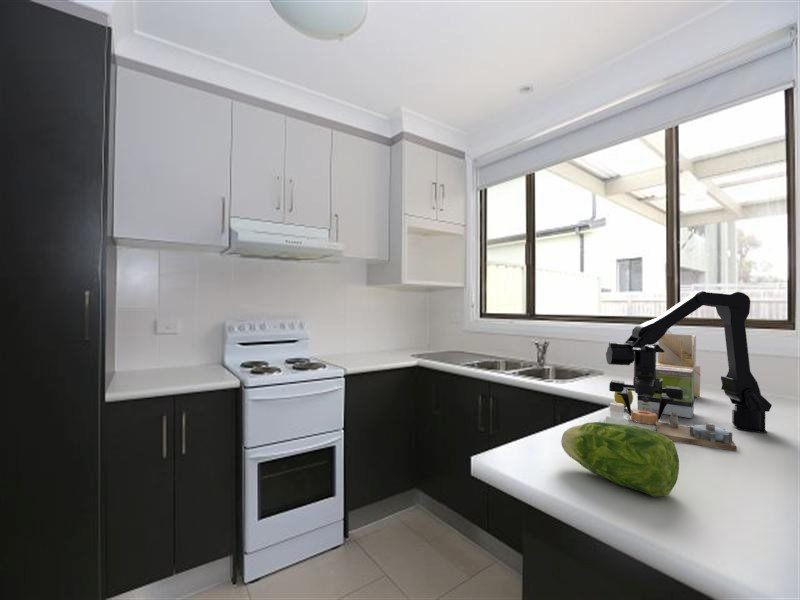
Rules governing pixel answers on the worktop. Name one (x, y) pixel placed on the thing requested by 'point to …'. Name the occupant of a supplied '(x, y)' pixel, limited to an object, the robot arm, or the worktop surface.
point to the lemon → (620, 400)
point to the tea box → (679, 406)
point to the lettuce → (625, 455)
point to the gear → (644, 417)
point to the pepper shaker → (616, 414)
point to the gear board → (697, 434)
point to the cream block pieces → (680, 355)
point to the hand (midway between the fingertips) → (644, 417)
